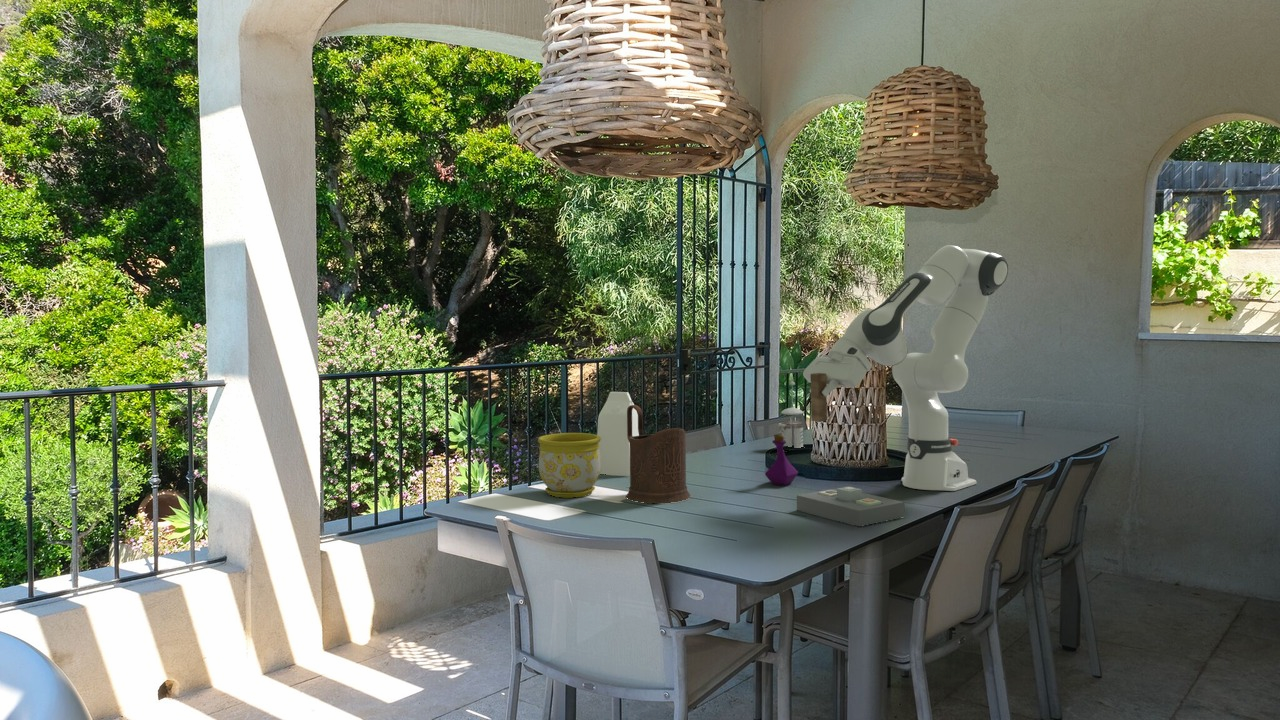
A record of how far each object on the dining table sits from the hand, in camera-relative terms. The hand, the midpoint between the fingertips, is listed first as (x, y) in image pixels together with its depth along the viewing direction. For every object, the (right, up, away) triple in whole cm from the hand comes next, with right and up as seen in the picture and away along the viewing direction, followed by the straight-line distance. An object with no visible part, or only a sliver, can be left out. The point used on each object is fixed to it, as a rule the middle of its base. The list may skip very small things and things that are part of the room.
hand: (817, 393), depth 252 cm
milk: (-55, -27, +46) cm, 76 cm away
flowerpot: (-69, -30, +14) cm, 76 cm away
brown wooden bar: (+1, -7, +1) cm, 7 cm away
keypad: (+5, -30, -15) cm, 34 cm away
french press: (+7, -24, +85) cm, 89 cm away
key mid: (+5, -27, -15) cm, 32 cm away
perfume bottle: (-6, -28, +24) cm, 37 cm away
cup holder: (-45, -30, +10) cm, 55 cm away
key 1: (+2, -29, -10) cm, 31 cm away
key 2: (+9, -30, -21) cm, 37 cm away
